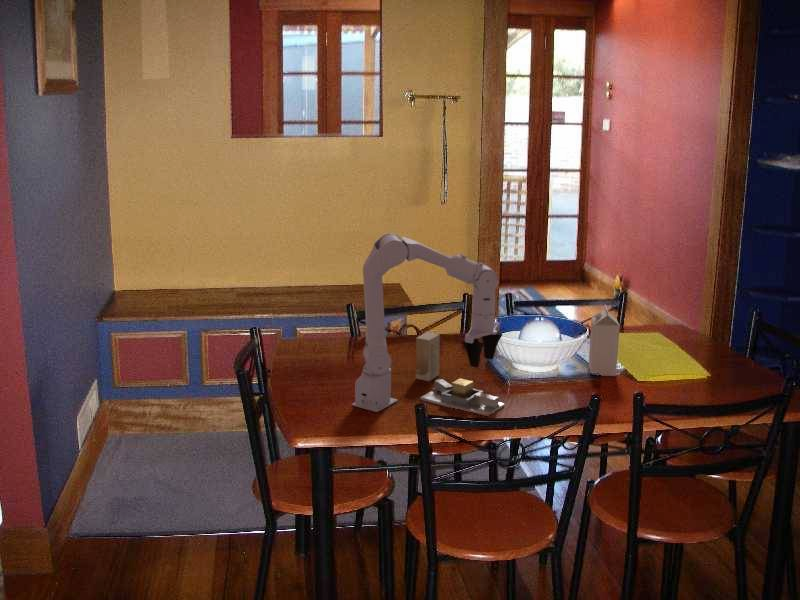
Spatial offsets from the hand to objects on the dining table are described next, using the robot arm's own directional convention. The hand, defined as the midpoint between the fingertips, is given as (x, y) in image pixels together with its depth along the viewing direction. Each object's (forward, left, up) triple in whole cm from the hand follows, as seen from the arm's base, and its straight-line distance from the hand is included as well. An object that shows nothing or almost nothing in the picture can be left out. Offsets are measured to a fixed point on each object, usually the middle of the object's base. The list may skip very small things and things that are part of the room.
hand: (481, 362), depth 245 cm
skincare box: (+5, +20, -10) cm, 23 cm away
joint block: (-6, +2, -9) cm, 11 cm away
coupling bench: (-6, +2, -10) cm, 12 cm away
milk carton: (+38, -18, -10) cm, 43 cm away
